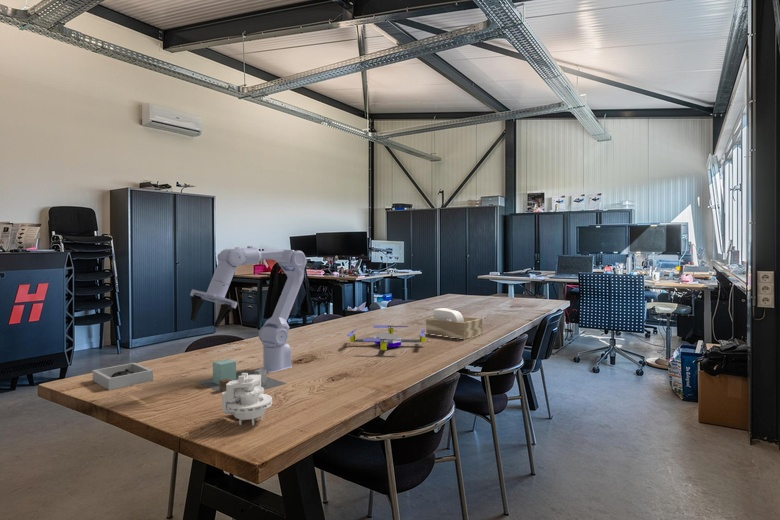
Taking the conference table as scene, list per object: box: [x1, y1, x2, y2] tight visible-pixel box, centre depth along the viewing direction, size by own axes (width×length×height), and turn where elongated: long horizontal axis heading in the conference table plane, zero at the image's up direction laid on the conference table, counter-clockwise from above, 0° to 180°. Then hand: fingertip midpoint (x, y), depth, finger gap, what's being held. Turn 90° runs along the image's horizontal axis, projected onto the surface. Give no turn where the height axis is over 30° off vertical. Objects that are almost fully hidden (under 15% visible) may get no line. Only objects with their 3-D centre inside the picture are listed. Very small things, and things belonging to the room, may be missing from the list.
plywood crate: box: [425, 316, 483, 339], centre depth 222 cm, size 17×22×8 cm
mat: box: [196, 370, 288, 394], centre depth 143 cm, size 18×24×1 cm
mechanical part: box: [221, 373, 273, 426], centre depth 113 cm, size 11×12×12 cm
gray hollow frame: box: [92, 362, 154, 391], centre depth 149 cm, size 13×16×4 cm
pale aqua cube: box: [212, 358, 237, 385], centre depth 144 cm, size 5×5×7 cm
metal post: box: [254, 368, 268, 387], centre depth 140 cm, size 3×3×5 cm
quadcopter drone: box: [346, 324, 427, 351], centre depth 198 cm, size 34×33×5 cm
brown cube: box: [219, 379, 232, 392], centre depth 136 cm, size 3×3×3 cm
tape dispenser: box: [432, 307, 464, 323], centre depth 222 cm, size 16×10×13 cm, turn 40°
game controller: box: [111, 369, 133, 378], centre depth 149 cm, size 10×5×6 cm
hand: (203, 323), depth 140 cm, fingers open, 7 cm apart
